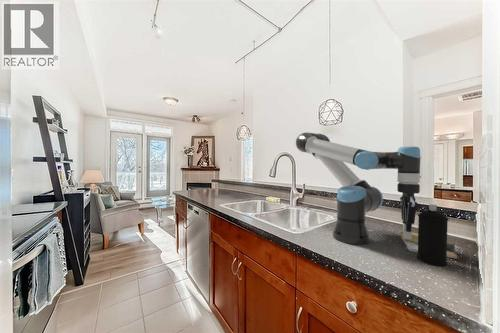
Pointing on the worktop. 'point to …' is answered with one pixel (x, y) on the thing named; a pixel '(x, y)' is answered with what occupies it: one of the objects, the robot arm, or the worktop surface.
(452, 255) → the door leaf
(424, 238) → the aerosol can
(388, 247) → the worktop surface
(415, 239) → the brass swing stop
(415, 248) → the jamb plate
